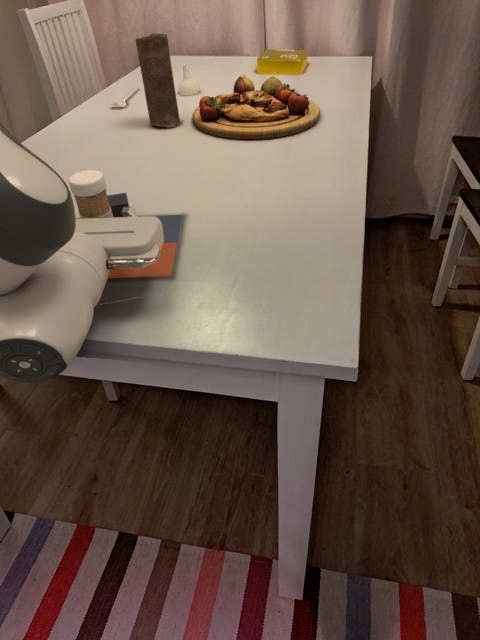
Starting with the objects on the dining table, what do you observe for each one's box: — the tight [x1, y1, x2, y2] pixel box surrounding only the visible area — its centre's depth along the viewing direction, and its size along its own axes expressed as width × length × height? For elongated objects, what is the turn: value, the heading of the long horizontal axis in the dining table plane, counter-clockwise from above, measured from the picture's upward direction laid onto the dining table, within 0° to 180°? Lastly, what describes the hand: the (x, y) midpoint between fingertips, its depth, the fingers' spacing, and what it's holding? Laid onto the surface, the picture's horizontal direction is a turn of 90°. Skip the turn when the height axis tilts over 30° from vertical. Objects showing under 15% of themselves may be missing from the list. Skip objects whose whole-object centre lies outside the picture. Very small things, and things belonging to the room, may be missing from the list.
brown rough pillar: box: [135, 32, 181, 128], centre depth 110 cm, size 8×7×20 cm
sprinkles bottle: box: [68, 169, 113, 219], centre depth 66 cm, size 5×5×14 cm
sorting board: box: [108, 214, 183, 279], centre depth 74 cm, size 20×18×1 cm
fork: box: [109, 87, 138, 108], centre depth 134 cm, size 3×20×2 cm, turn 173°
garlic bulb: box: [177, 63, 201, 97], centre depth 135 cm, size 6×6×8 cm
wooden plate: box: [192, 74, 321, 140], centre depth 115 cm, size 32×32×8 cm
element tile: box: [256, 48, 309, 75], centre depth 153 cm, size 15×15×5 cm
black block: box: [107, 192, 130, 218], centre depth 76 cm, size 4×4×5 cm
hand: (97, 212), depth 66 cm, fingers open, 8 cm apart
